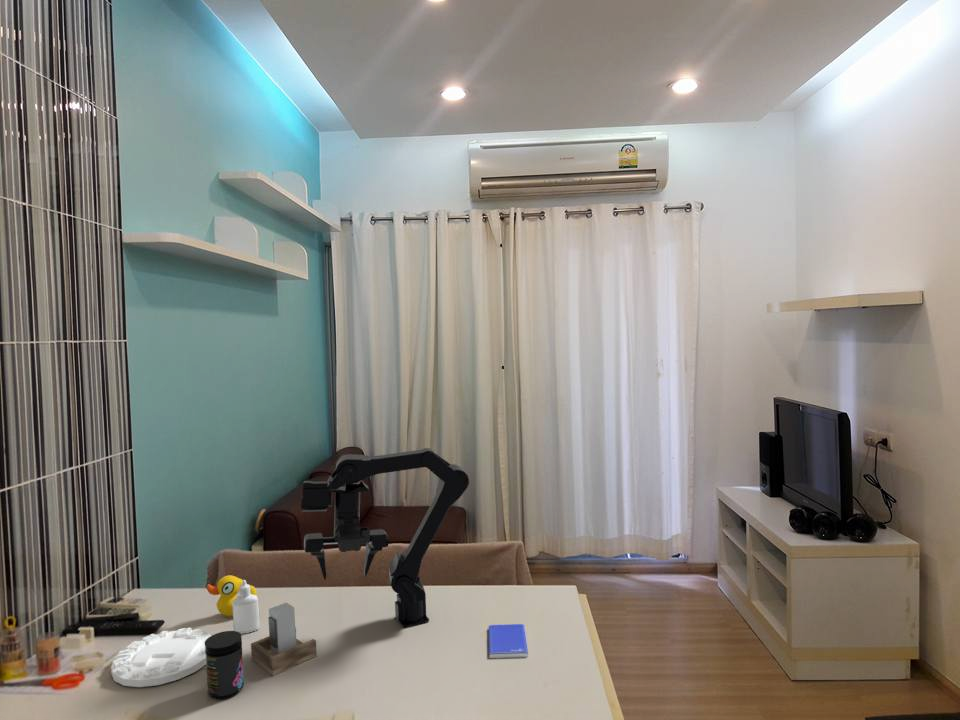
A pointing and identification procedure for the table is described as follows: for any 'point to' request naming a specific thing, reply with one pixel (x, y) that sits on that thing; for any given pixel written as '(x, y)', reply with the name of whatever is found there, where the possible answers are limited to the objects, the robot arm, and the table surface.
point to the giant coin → (160, 658)
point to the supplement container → (224, 664)
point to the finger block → (282, 628)
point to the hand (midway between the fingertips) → (345, 577)
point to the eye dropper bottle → (245, 610)
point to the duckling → (227, 593)
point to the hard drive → (507, 641)
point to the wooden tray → (281, 655)
